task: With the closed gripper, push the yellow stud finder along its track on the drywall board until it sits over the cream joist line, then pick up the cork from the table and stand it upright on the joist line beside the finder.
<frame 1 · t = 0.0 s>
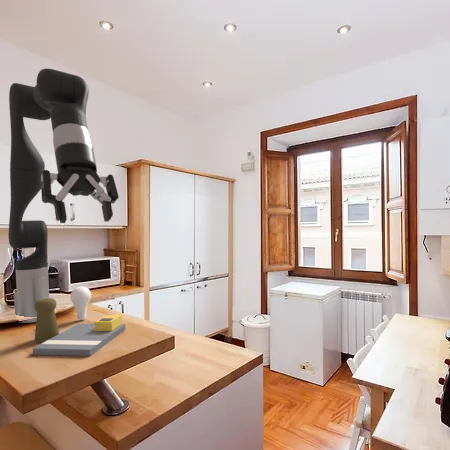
hand: (86, 220, 62), 31 cm above the kitchen counter, tool tilted 20°, fingers open, 8 cm apart
stud finder: (108, 322, 88), point 3 cm above the kitchen counter, slide at 0.0 cm
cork: (47, 339, 85), on the kitchen counter
drywall board: (83, 340, 83), on the kitchen counter
lightbulb: (81, 320, 101), on the kitchen counter
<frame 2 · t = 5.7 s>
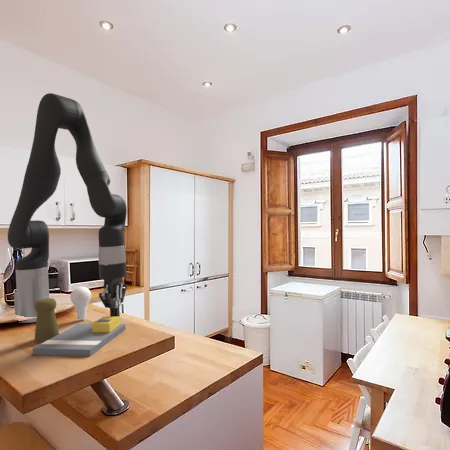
hand: (115, 320, 91), 3 cm above the kitchen counter, tool pointing down, fingers closed
stud finder: (106, 323, 87), point 3 cm above the kitchen counter, slide at 1.2 cm, touching gripper
everything else where it was.
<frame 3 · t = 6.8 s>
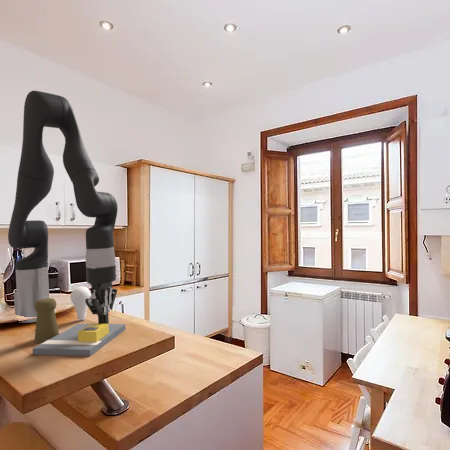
hand: (103, 327, 85), 3 cm above the kitchen counter, tool pointing down, fingers closed
stud finder: (93, 332, 81), point 3 cm above the kitchen counter, slide at 7.5 cm, touching gripper
everything else where it was.
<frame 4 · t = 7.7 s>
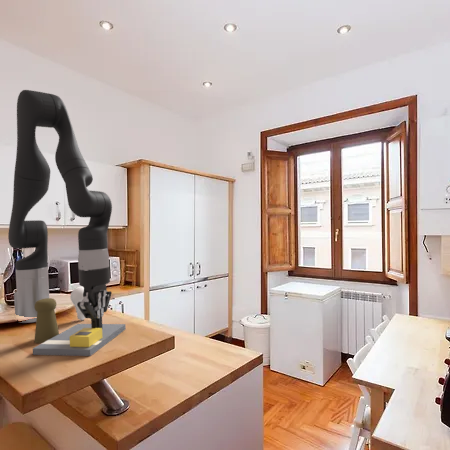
hand: (97, 331, 82), 3 cm above the kitchen counter, tool pointing down, fingers closed
stud finder: (86, 336, 77), point 3 cm above the kitchen counter, slide at 10.8 cm, touching gripper
everything else where it was.
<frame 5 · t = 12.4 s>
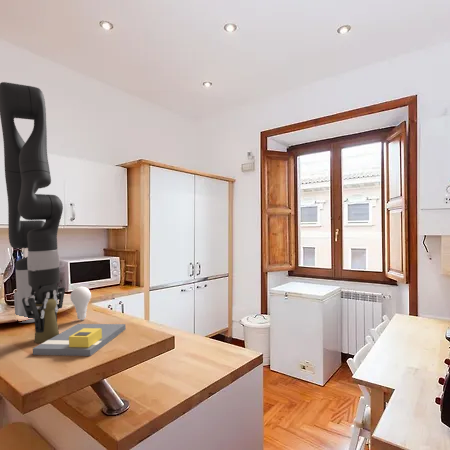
hand: (46, 328, 85), 3 cm above the kitchen counter, tool pointing down, fingers closed on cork, 4 cm apart
stud finder: (85, 337, 77), point 3 cm above the kitchen counter, slide at 11.1 cm
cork: (47, 339, 85), on the kitchen counter, touching gripper
everything else where it was.
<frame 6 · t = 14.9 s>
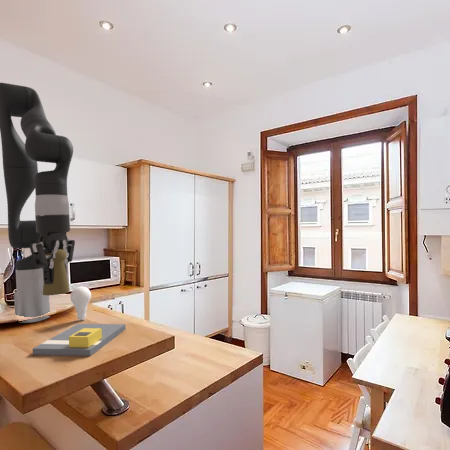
hand: (55, 281, 78), 17 cm above the kitchen counter, tool pointing down, fingers closed on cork, 4 cm apart
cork: (56, 293, 78), point 14 cm above the kitchen counter, touching gripper
everything else where it was.
when the fingers open (6 cm above the kitchen counter, at t = 17.3 s): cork stays where it is, resting on drywall board.
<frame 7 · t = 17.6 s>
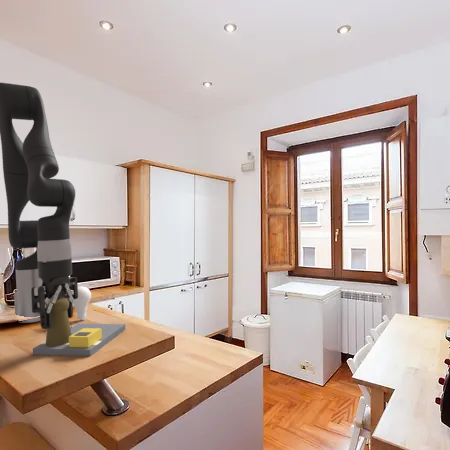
hand: (57, 322, 78), 6 cm above the kitchen counter, tool pointing down, fingers open, 7 cm apart
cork: (59, 342, 79), point 1 cm above the kitchen counter, touching drywall board
everything else where it was.
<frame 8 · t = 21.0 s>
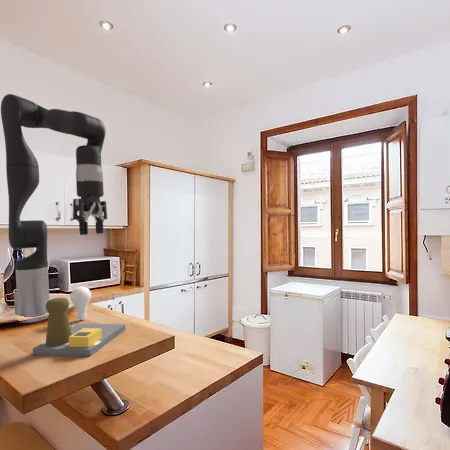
hand: (92, 234, 95), 28 cm above the kitchen counter, tool pointing down, fingers open, 8 cm apart
nothing on the kitchen counter moved.
at the end: stud finder slide at 11.1 cm; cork 0.3 cm from the target spot, point 1.3 cm above the kitchen counter; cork tilted 0° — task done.
